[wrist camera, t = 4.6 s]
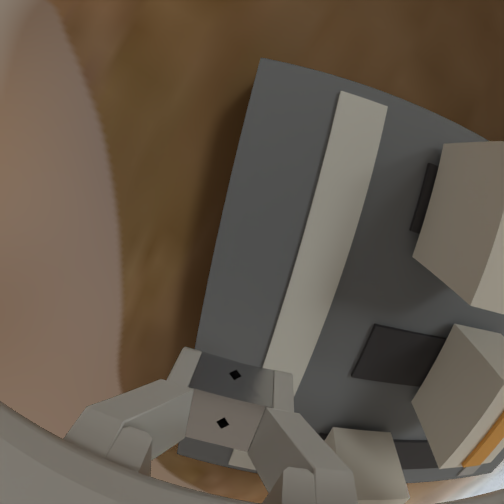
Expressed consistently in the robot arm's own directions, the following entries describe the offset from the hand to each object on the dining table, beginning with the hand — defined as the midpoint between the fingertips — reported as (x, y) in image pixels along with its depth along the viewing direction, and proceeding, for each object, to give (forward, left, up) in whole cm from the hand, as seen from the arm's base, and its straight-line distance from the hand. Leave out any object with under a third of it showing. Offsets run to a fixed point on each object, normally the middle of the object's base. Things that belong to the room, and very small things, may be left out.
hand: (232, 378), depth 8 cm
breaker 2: (-6, -6, -3) cm, 9 cm away
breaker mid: (-9, 0, -3) cm, 10 cm away
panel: (-9, 0, -5) cm, 11 cm away
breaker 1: (-6, +6, -3) cm, 9 cm away
